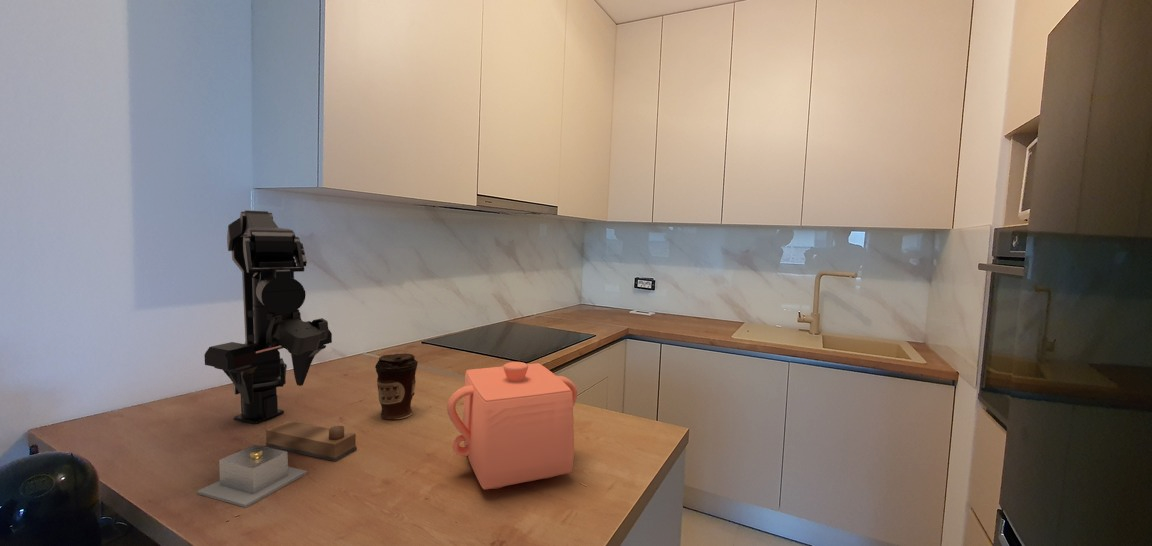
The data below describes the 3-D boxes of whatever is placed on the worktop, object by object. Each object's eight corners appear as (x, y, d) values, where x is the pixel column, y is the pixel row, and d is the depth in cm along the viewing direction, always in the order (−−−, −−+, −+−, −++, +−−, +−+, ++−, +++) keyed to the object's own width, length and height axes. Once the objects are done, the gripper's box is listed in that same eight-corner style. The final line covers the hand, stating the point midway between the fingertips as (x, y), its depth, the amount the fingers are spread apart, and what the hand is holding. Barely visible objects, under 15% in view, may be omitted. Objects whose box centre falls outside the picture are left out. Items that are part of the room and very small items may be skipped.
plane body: (265, 445, 84) (264, 421, 83) (288, 435, 88) (287, 412, 88) (336, 461, 78) (335, 435, 78) (356, 449, 83) (356, 425, 82)
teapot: (436, 437, 89) (435, 347, 87) (545, 421, 98) (546, 339, 96) (455, 508, 66) (455, 387, 65) (596, 479, 75) (599, 372, 73)
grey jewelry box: (220, 485, 70) (218, 456, 69) (256, 468, 75) (255, 441, 75) (253, 494, 67) (252, 464, 67) (288, 475, 73) (287, 448, 72)
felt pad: (197, 493, 68) (197, 491, 68) (261, 462, 78) (261, 460, 77) (245, 507, 65) (245, 504, 65) (307, 473, 74) (307, 471, 74)
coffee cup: (402, 425, 94) (401, 363, 93) (366, 421, 96) (365, 360, 95) (424, 409, 102) (424, 352, 101) (391, 406, 104) (390, 350, 103)
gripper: (252, 319, 66) (255, 423, 67) (354, 301, 83) (355, 384, 85) (200, 311, 69) (204, 410, 71) (308, 295, 87) (309, 375, 88)
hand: (275, 393), depth 78 cm, fingers open, 9 cm apart
